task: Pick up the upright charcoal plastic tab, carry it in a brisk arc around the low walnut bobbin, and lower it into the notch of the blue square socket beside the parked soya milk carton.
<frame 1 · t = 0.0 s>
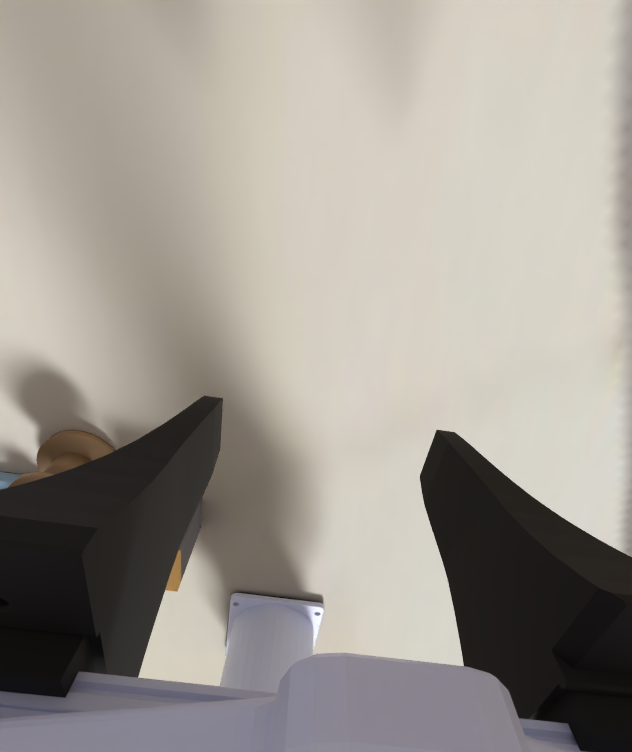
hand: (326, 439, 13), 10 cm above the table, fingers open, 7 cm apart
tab: (171, 508, 28), on the table
bobbin: (83, 461, 26), on the table
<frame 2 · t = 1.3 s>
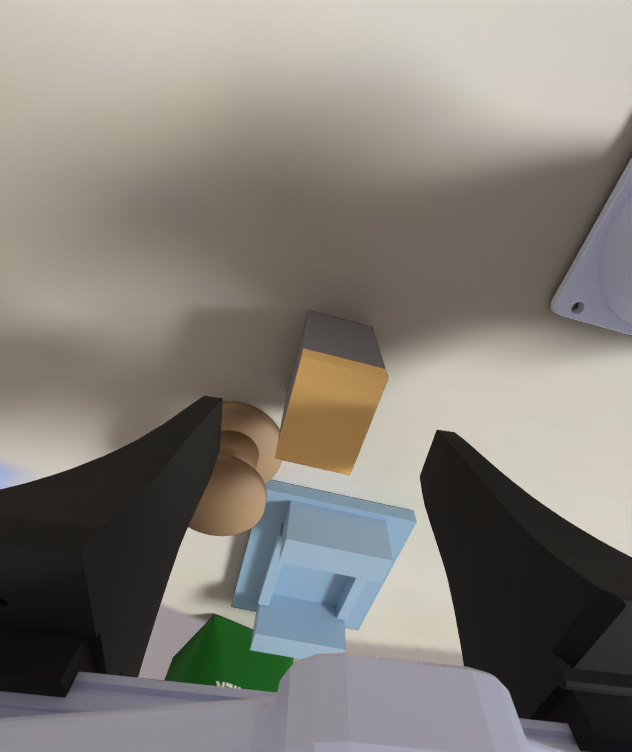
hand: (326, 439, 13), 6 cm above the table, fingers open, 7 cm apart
soya milk: (232, 649, 30), on the table
blue square socket: (316, 556, 24), on the table
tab: (327, 360, 18), on the table
bobbin: (235, 443, 21), on the table
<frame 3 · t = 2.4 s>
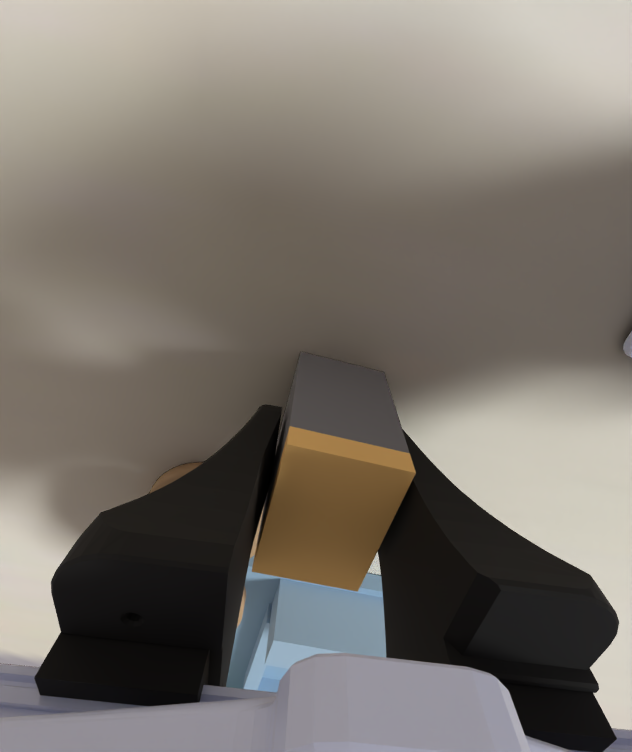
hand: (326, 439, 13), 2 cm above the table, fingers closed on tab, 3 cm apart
blue square socket: (312, 634, 20), on the table
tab: (326, 414, 14), on the table, touching gripper
bobbin: (210, 510, 16), on the table
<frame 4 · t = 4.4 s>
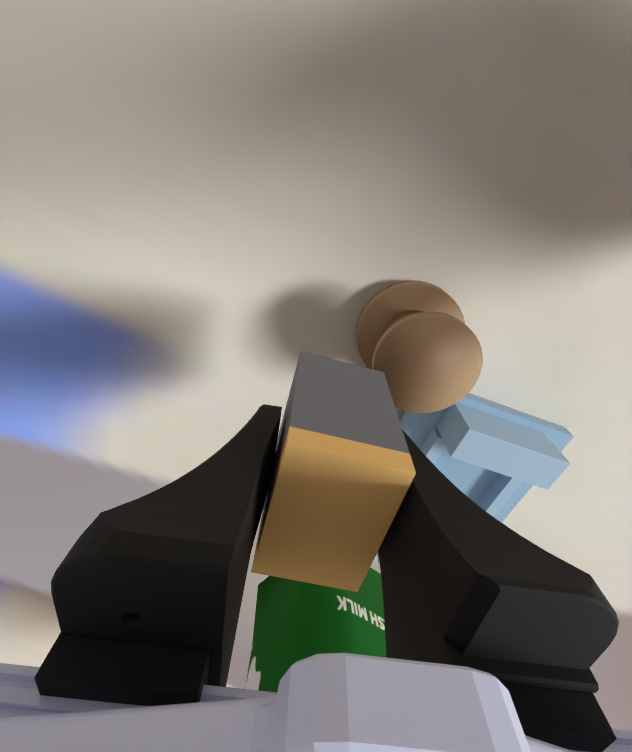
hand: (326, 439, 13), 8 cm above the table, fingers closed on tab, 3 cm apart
soya milk: (322, 579, 29), on the table
blue square socket: (447, 474, 23), on the table
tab: (325, 414, 14), point 6 cm above the table, touching gripper
bobbin: (407, 332, 19), on the table
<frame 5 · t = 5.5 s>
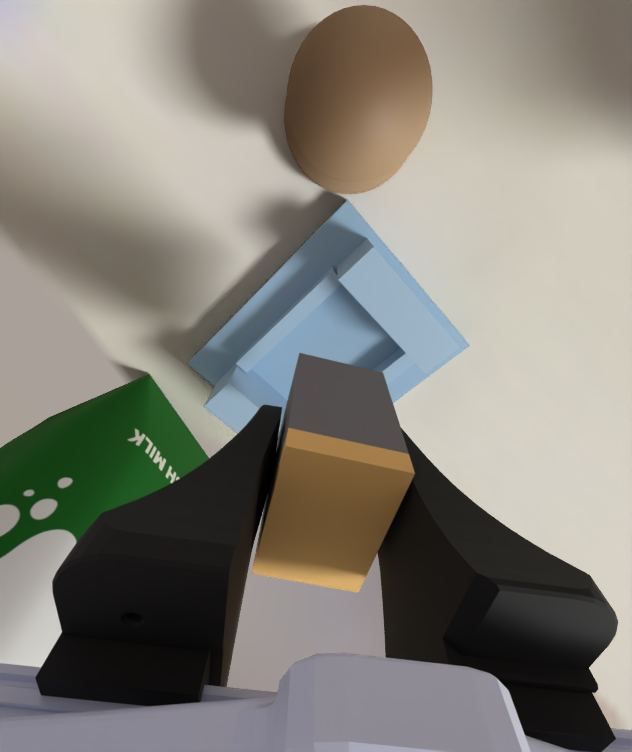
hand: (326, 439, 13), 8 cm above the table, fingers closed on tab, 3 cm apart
soya milk: (135, 440, 23), on the table
blue square socket: (325, 348, 20), on the table
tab: (325, 414, 14), point 6 cm above the table, touching gripper
bobbin: (350, 122, 15), on the table
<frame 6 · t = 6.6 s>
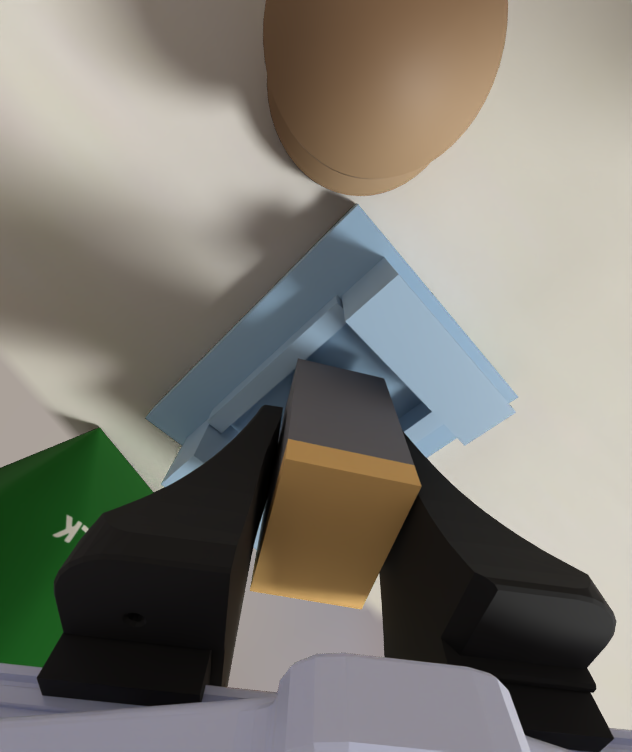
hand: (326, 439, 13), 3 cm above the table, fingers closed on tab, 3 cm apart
soya milk: (88, 502, 18), on the table
blue square socket: (326, 397, 15), on the table
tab: (324, 422, 14), point 2 cm above the table, touching blue square socket, gripper
bobbin: (362, 93, 11), on the table
when the fingers open (3 cm above the table, at t = 7.4 s): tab stays where it is, resting on blue square socket.
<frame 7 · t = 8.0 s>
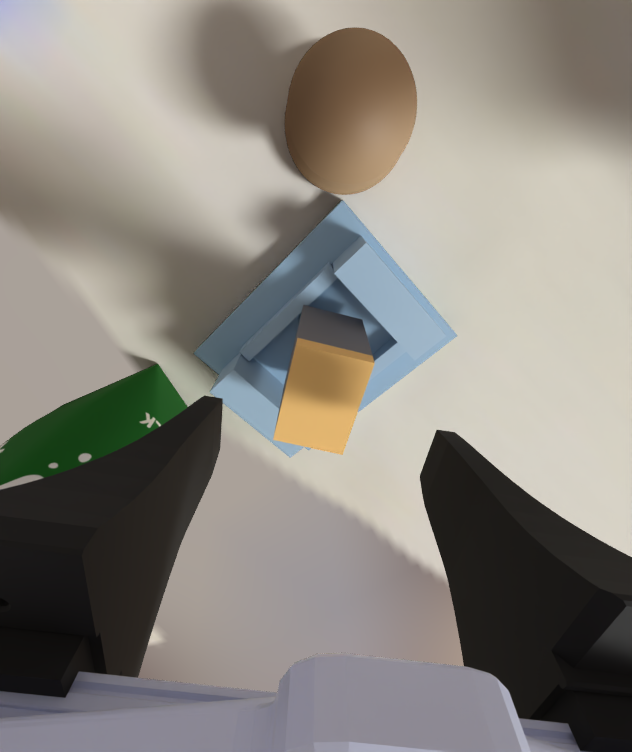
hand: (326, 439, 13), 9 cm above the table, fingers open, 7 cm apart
soya milk: (143, 426, 24), on the table
blue square socket: (323, 339, 21), on the table
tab: (321, 352, 20), point 2 cm above the table, touching blue square socket
bobbin: (345, 128, 17), on the table
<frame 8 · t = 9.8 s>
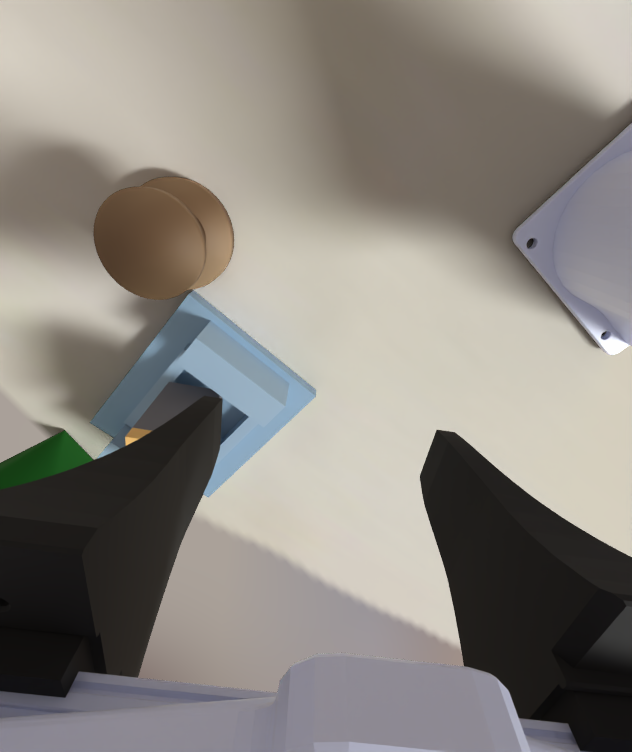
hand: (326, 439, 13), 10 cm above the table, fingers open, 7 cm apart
soya milk: (64, 482, 27), on the table
blue square socket: (203, 403, 24), on the table
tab: (194, 418, 22), point 2 cm above the table, touching blue square socket
bobbin: (182, 234, 19), on the table
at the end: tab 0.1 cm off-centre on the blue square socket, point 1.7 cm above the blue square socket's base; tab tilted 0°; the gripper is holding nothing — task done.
